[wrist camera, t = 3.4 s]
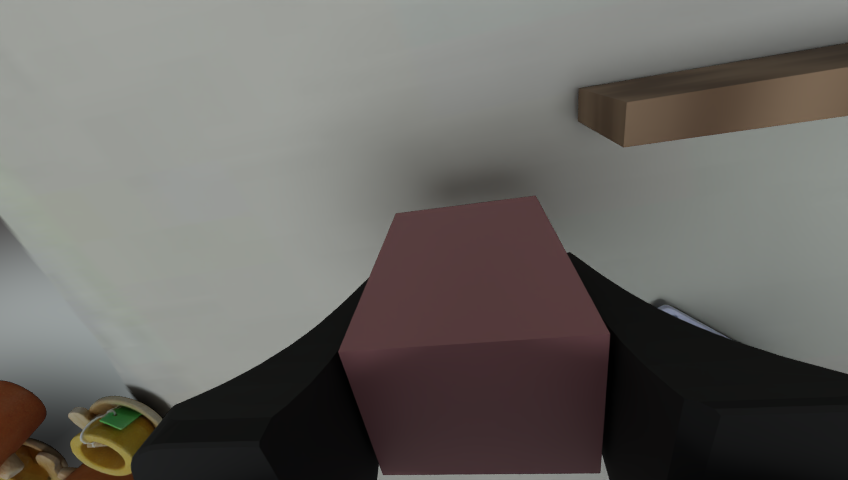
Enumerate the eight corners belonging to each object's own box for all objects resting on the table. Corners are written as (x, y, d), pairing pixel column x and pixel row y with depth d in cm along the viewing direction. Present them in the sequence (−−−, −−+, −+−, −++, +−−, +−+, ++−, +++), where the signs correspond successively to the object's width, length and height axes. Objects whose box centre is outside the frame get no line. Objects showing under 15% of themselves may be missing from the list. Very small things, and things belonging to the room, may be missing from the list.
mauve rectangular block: (535, 195, 12) (610, 334, 6) (539, 290, 14) (600, 473, 8) (396, 213, 13) (338, 351, 7) (415, 301, 15) (382, 474, 9)
